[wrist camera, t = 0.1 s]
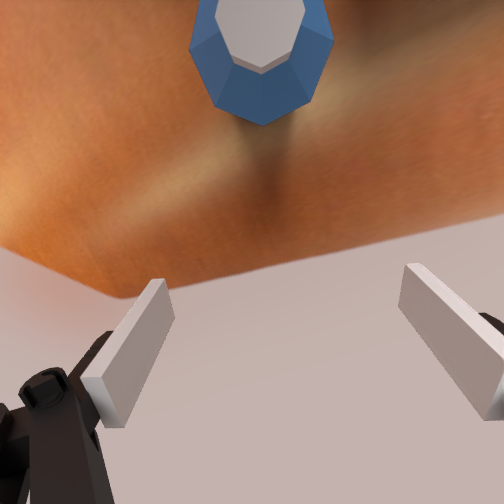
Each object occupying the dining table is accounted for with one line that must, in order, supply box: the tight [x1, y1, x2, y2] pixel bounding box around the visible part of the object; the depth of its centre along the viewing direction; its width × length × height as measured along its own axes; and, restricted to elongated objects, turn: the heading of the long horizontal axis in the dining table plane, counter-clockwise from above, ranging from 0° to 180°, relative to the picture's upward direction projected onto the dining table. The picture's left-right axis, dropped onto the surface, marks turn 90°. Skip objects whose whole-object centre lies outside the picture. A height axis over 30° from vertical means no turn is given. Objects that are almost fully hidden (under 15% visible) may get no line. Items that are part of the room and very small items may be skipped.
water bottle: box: [189, 0, 334, 126], centre depth 24 cm, size 9×9×25 cm
